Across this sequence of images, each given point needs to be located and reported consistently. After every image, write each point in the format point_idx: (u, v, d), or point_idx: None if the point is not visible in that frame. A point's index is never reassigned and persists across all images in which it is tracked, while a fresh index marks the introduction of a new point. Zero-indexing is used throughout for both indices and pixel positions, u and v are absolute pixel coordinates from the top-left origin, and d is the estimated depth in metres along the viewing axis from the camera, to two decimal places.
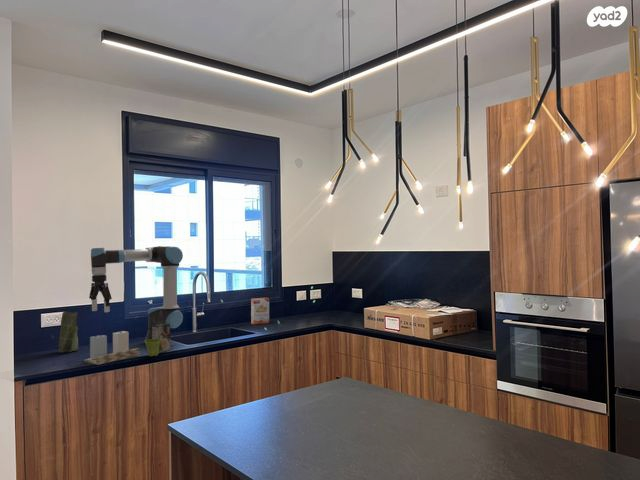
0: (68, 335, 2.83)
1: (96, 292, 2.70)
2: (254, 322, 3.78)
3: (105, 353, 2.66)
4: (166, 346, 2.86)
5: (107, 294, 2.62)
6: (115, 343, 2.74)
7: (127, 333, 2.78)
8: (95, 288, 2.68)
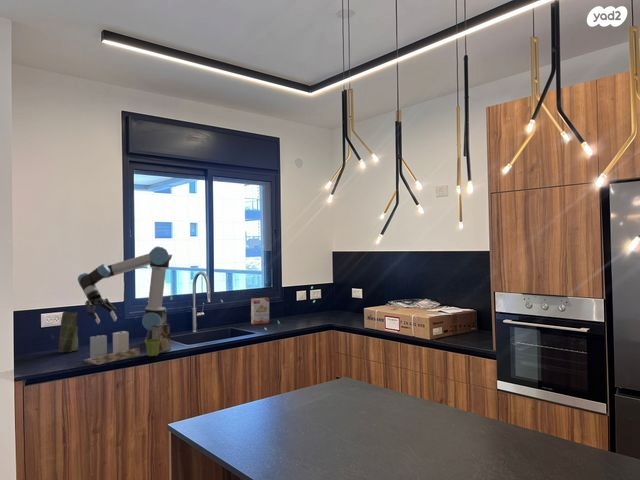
0: (68, 335, 2.83)
1: (104, 306, 2.91)
2: (254, 322, 3.78)
3: (105, 353, 2.66)
4: (166, 346, 2.86)
5: (87, 310, 2.81)
6: (115, 343, 2.74)
7: (127, 333, 2.78)
8: None
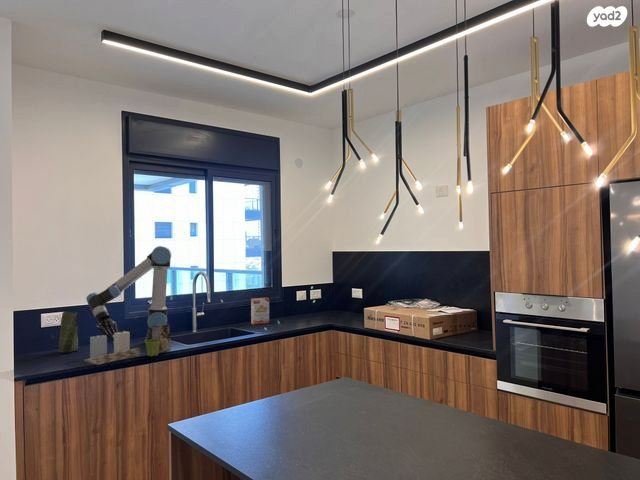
0: (68, 335, 2.83)
1: (110, 328, 2.83)
2: (254, 322, 3.78)
3: (105, 353, 2.66)
4: (166, 346, 2.86)
5: (103, 333, 2.78)
6: (116, 344, 2.73)
7: (128, 333, 2.77)
8: None
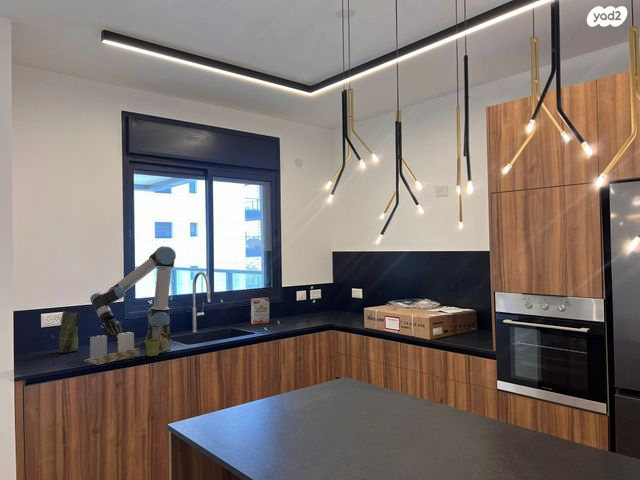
0: (68, 335, 2.83)
1: (114, 328, 2.81)
2: (254, 322, 3.78)
3: (105, 353, 2.66)
4: (166, 346, 2.86)
5: (108, 334, 2.76)
6: (120, 344, 2.71)
7: (132, 334, 2.75)
8: None
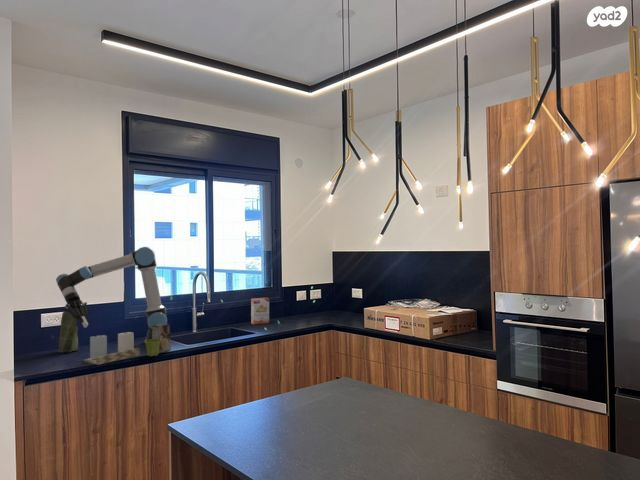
0: (68, 335, 2.83)
1: (79, 309, 2.78)
2: (254, 322, 3.78)
3: (105, 353, 2.66)
4: (166, 346, 2.86)
5: (72, 314, 2.73)
6: (120, 344, 2.71)
7: (132, 334, 2.75)
8: None
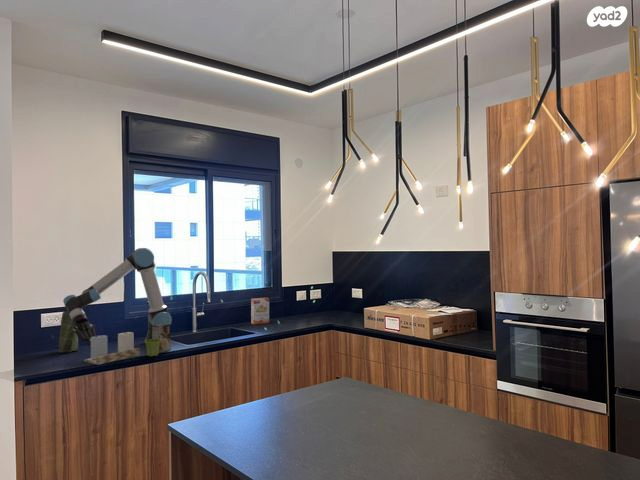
0: (68, 335, 2.83)
1: (87, 332, 2.72)
2: (254, 322, 3.78)
3: (106, 353, 2.65)
4: (166, 346, 2.86)
5: (80, 337, 2.67)
6: (120, 344, 2.71)
7: (132, 334, 2.75)
8: None
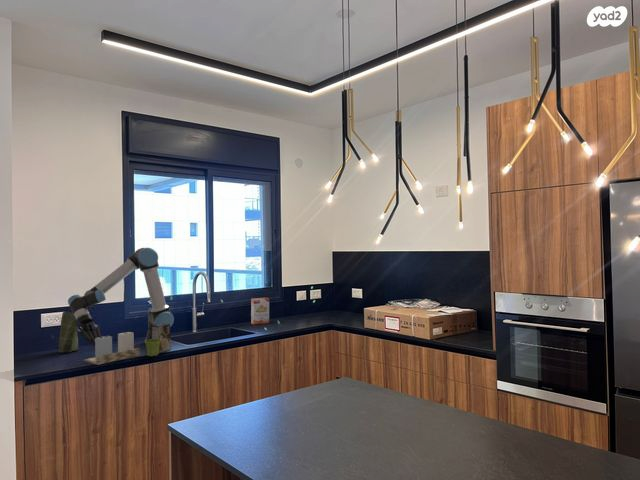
0: (68, 335, 2.83)
1: (92, 332, 2.69)
2: (254, 322, 3.78)
3: None
4: (166, 346, 2.86)
5: (85, 338, 2.65)
6: (120, 344, 2.71)
7: (132, 334, 2.75)
8: None
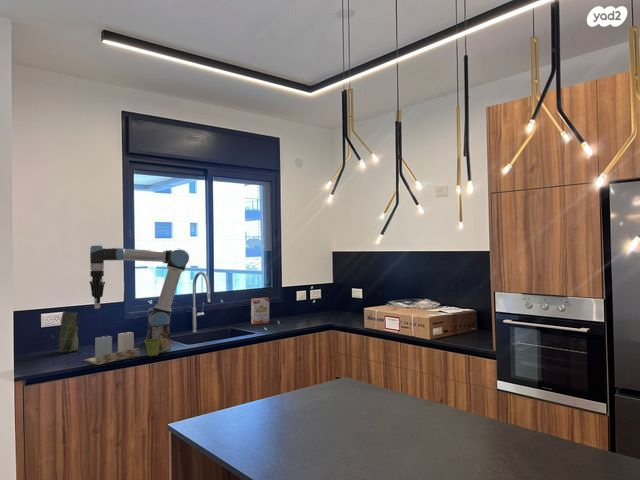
0: (68, 335, 2.83)
1: None
2: (254, 322, 3.78)
3: None
4: (166, 346, 2.86)
5: (100, 292, 2.86)
6: (120, 344, 2.71)
7: (132, 334, 2.75)
8: (94, 282, 2.87)
